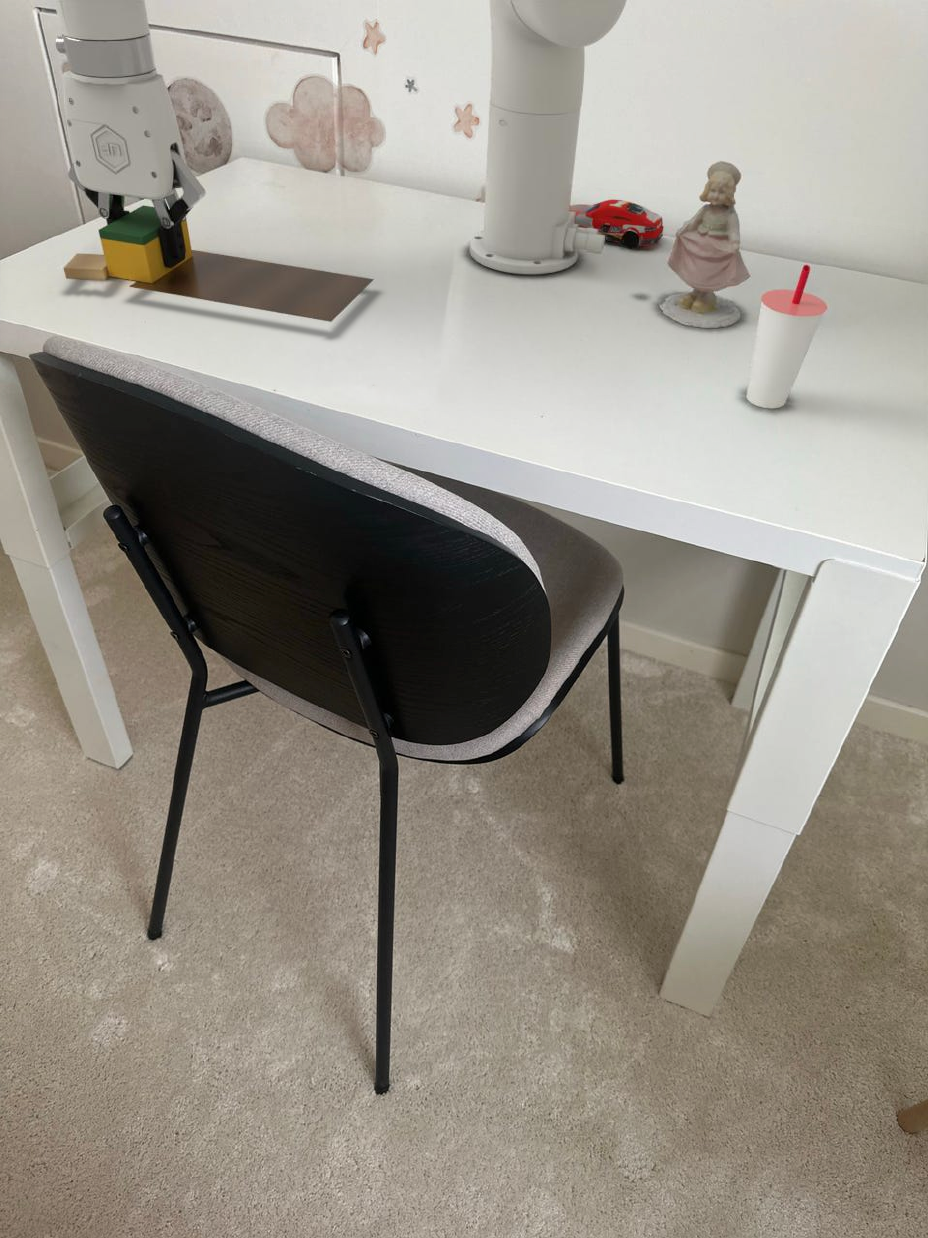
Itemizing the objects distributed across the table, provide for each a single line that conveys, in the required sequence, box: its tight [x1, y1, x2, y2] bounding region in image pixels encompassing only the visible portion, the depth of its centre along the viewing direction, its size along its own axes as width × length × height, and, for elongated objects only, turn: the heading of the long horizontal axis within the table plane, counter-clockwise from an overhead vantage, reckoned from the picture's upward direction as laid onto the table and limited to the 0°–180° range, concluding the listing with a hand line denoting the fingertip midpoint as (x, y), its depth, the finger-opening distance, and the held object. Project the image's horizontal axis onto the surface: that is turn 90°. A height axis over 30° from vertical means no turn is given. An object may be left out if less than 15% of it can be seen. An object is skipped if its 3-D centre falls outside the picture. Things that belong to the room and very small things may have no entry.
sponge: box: [98, 204, 193, 283], centre depth 92 cm, size 5×8×5 cm, turn 163°
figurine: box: [638, 160, 751, 329], centre depth 90 cm, size 11×10×15 cm
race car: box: [569, 199, 664, 249], centre depth 107 cm, size 13×5×4 cm, turn 65°
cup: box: [746, 264, 828, 409], centre depth 76 cm, size 5×5×12 cm
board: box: [129, 249, 374, 322], centre depth 92 cm, size 22×11×2 cm, turn 73°
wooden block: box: [63, 253, 110, 281], centre depth 92 cm, size 4×4×2 cm
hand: (150, 257), depth 93 cm, fingers closed on sponge, 5 cm apart
